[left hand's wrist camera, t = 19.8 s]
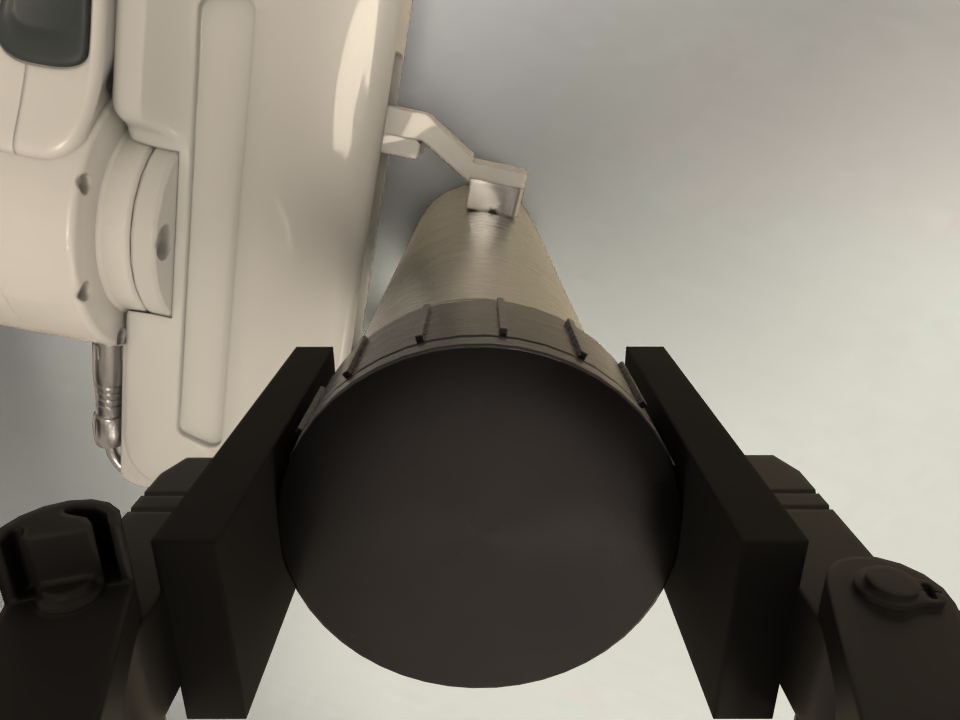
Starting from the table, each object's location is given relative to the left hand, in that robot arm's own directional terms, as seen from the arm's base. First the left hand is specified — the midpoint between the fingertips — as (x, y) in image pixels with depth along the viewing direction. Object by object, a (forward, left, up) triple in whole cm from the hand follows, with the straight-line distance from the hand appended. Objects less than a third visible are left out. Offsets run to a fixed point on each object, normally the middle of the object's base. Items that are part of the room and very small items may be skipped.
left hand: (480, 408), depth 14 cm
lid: (0, 0, +4) cm, 4 cm away
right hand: (-1, 0, -10) cm, 10 cm away
